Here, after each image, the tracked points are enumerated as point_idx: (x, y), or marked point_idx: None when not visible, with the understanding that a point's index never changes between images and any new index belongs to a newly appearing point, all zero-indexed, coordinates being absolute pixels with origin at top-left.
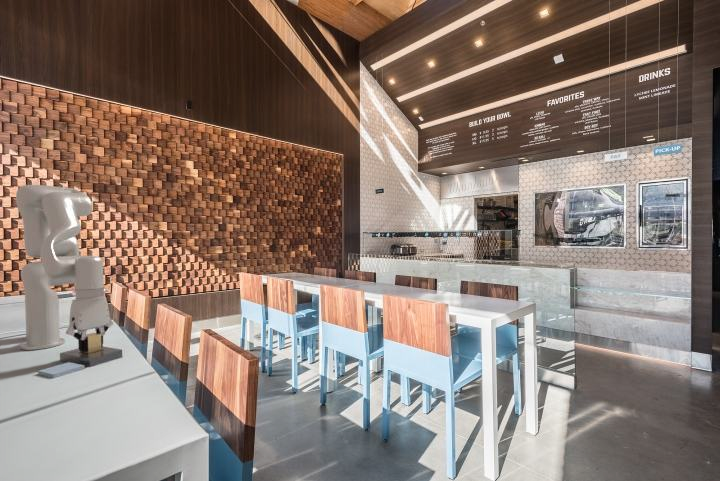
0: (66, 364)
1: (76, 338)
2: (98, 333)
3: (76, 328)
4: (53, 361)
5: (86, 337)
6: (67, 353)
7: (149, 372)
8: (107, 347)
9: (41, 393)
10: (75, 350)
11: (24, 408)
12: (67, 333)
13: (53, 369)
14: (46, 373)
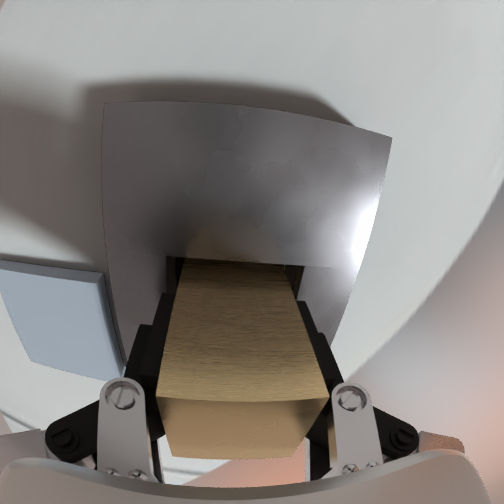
0: (76, 308)
1: (103, 389)
2: (297, 443)
3: (88, 482)
4: (108, 75)
5: (169, 441)
6: (119, 186)
7: (204, 472)
8: (333, 328)
9: (21, 396)
10: (205, 157)
11: (10, 410)
12: (10, 451)
13: (30, 314)
14: (14, 322)
